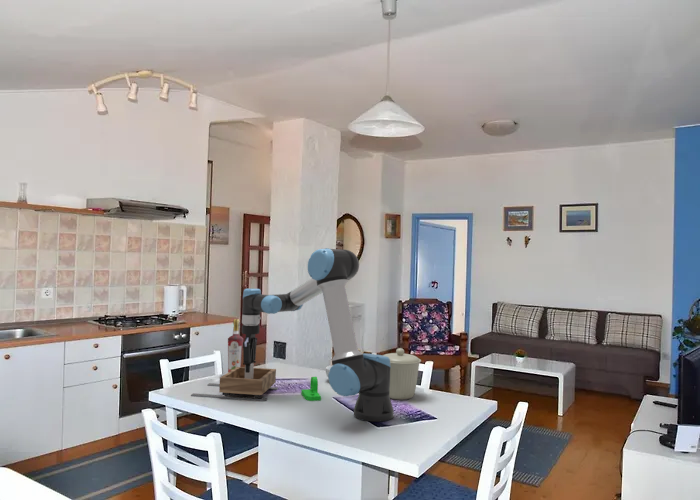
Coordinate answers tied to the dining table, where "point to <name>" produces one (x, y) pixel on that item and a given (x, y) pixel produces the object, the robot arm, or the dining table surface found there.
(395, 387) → the canister
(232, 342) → the liquor
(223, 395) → the cart rails
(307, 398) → the mechanical part
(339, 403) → the dining table surface
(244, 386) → the wooden crate
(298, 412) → the dining table surface
